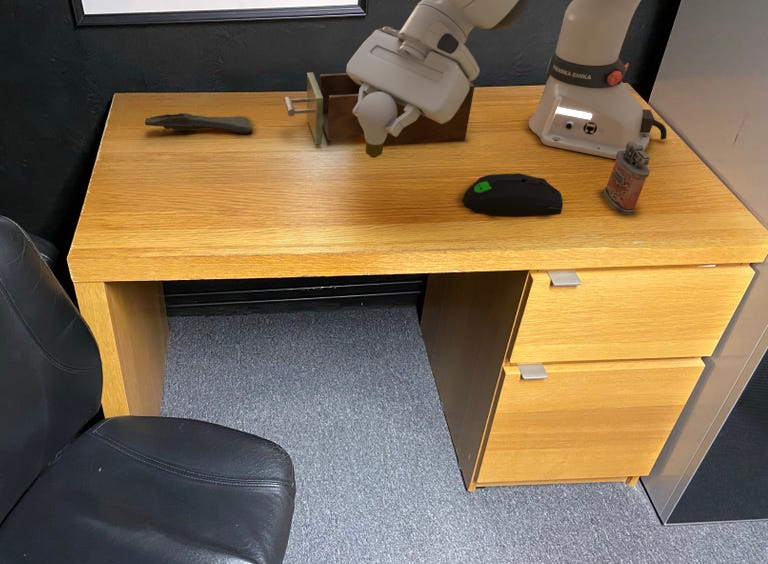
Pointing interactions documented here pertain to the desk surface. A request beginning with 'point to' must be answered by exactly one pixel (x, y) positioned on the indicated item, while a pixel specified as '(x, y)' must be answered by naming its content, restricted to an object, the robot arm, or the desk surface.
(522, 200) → the computer mouse
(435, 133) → the cabinet
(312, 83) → the drawer
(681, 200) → the desk surface
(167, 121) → the tool
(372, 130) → the light bulb
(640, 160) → the lighter
